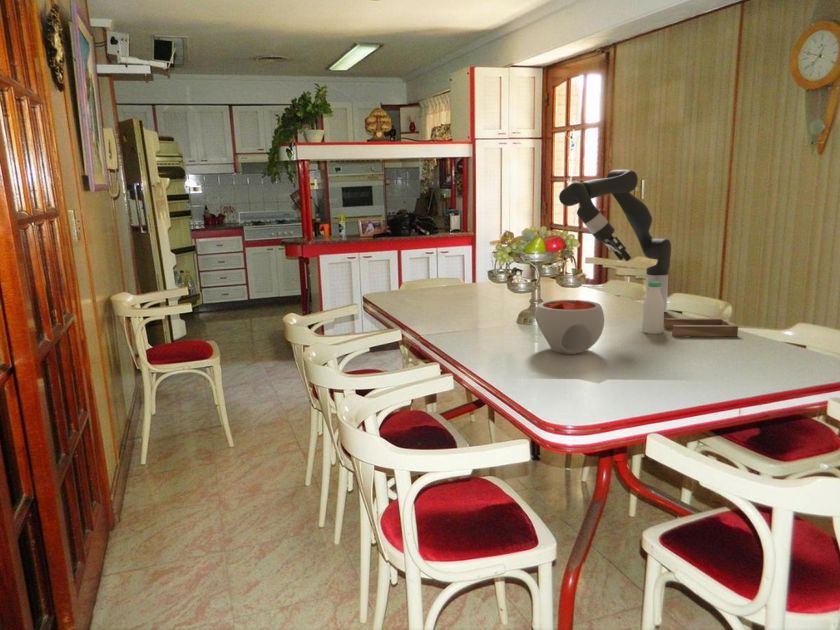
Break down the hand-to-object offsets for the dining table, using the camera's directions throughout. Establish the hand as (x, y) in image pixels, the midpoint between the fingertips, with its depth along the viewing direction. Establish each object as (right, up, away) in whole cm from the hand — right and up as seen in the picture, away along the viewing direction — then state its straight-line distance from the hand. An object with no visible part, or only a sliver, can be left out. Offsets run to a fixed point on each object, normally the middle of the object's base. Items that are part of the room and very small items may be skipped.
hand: (625, 259), depth 243 cm
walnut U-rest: (+29, -28, +3) cm, 40 cm away
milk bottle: (+12, -29, +5) cm, 32 cm away
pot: (-27, -35, -19) cm, 48 cm away
